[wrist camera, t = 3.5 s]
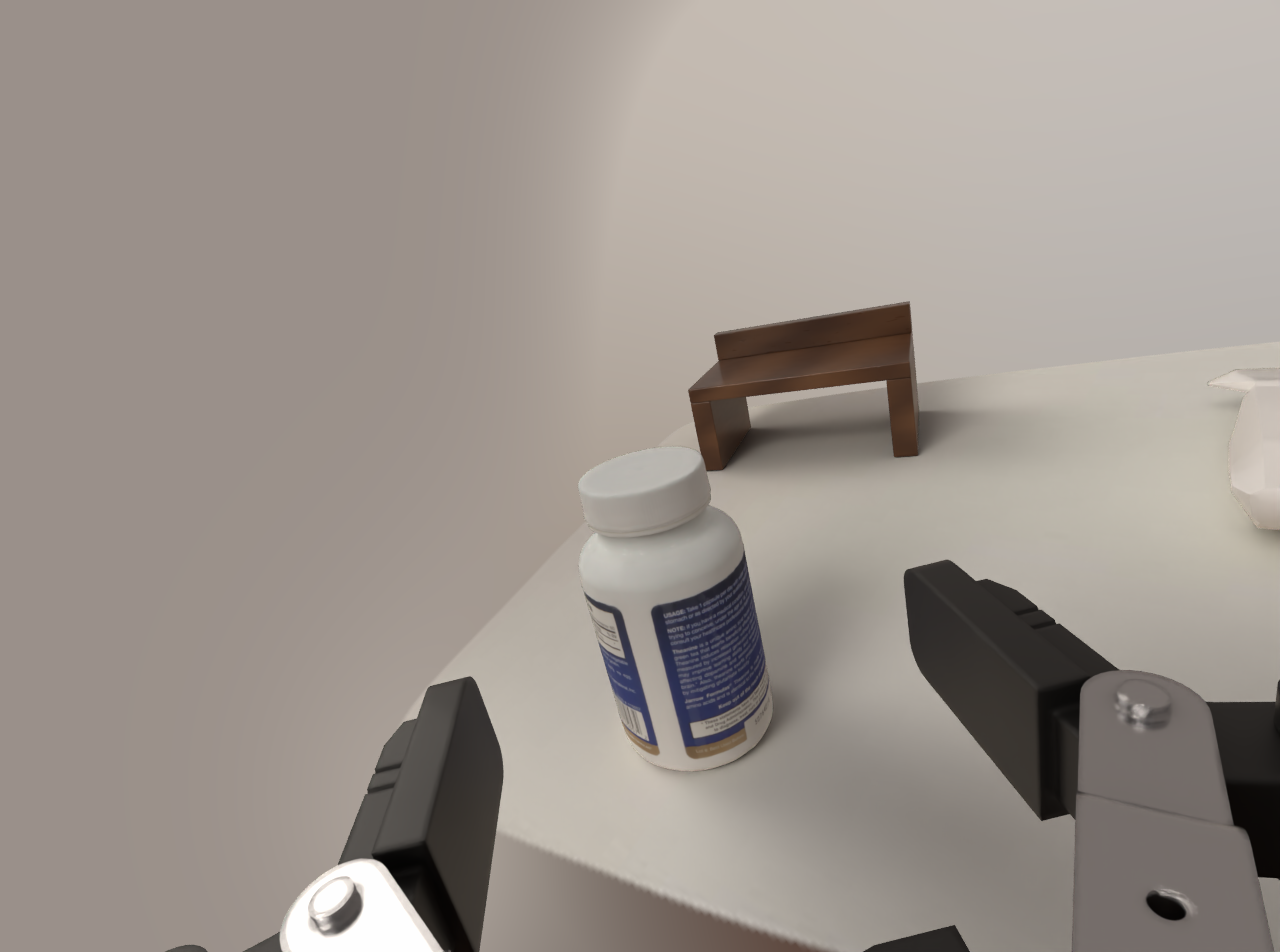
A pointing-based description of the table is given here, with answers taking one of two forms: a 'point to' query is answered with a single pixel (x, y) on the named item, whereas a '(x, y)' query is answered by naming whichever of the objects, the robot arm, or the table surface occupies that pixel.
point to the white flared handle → (1256, 443)
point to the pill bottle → (673, 610)
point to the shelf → (807, 372)
